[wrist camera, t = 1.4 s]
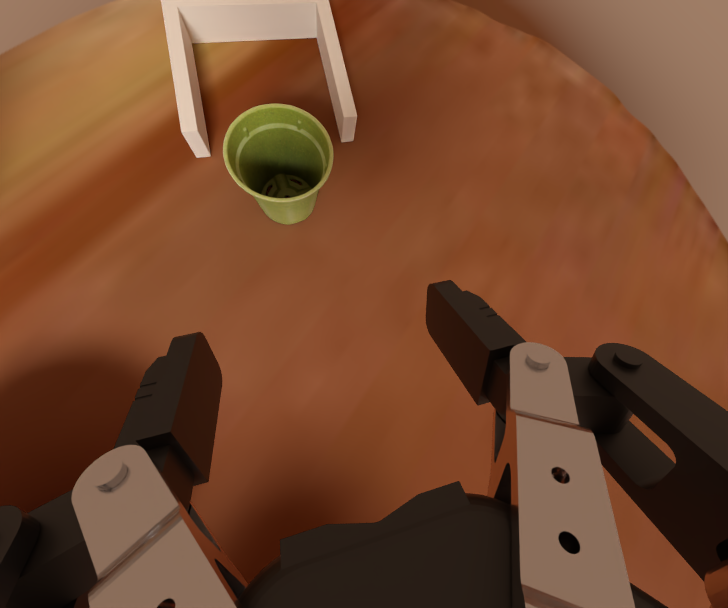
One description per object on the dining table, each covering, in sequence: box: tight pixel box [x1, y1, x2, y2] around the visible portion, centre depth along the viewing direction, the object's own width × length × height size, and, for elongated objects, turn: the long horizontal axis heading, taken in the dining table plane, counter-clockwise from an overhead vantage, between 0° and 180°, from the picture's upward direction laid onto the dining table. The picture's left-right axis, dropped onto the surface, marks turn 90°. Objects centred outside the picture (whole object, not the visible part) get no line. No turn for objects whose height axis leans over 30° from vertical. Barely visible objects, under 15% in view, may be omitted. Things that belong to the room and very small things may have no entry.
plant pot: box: [223, 104, 333, 224], centre depth 31 cm, size 9×9×9 cm
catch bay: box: [161, 0, 357, 158], centre depth 36 cm, size 18×16×4 cm
